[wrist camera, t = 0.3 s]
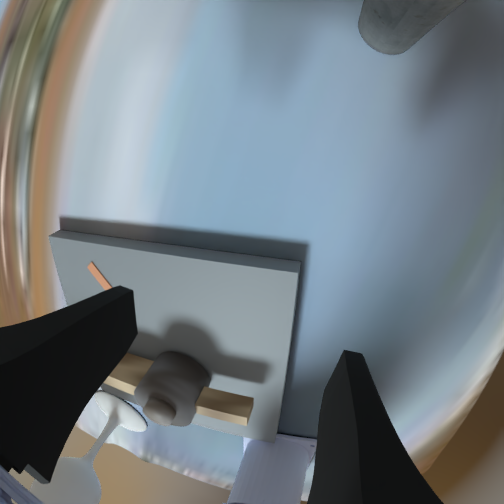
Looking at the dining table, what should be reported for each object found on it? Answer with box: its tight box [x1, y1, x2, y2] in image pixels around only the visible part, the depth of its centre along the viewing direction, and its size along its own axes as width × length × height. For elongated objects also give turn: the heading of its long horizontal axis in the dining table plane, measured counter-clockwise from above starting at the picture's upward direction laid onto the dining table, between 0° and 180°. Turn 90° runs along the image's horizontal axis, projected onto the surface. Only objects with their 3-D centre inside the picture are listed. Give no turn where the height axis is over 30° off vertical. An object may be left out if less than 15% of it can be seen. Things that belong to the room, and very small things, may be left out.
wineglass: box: [29, 391, 147, 504], centre depth 26 cm, size 9×9×21 cm
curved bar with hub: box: [103, 351, 254, 426], centre depth 22 cm, size 19×5×5 cm, turn 89°
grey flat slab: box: [49, 230, 301, 443], centre depth 25 cm, size 20×22×2 cm
